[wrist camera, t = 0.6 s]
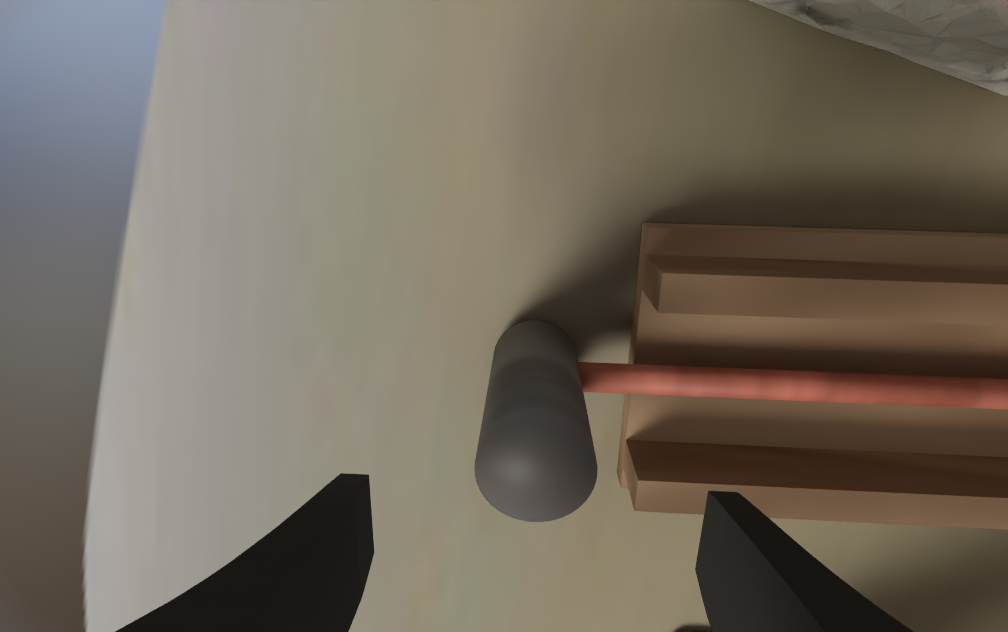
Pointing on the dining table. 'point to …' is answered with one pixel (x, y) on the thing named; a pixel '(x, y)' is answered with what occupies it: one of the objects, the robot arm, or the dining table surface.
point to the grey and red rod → (562, 380)
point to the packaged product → (919, 32)
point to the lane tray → (822, 348)
